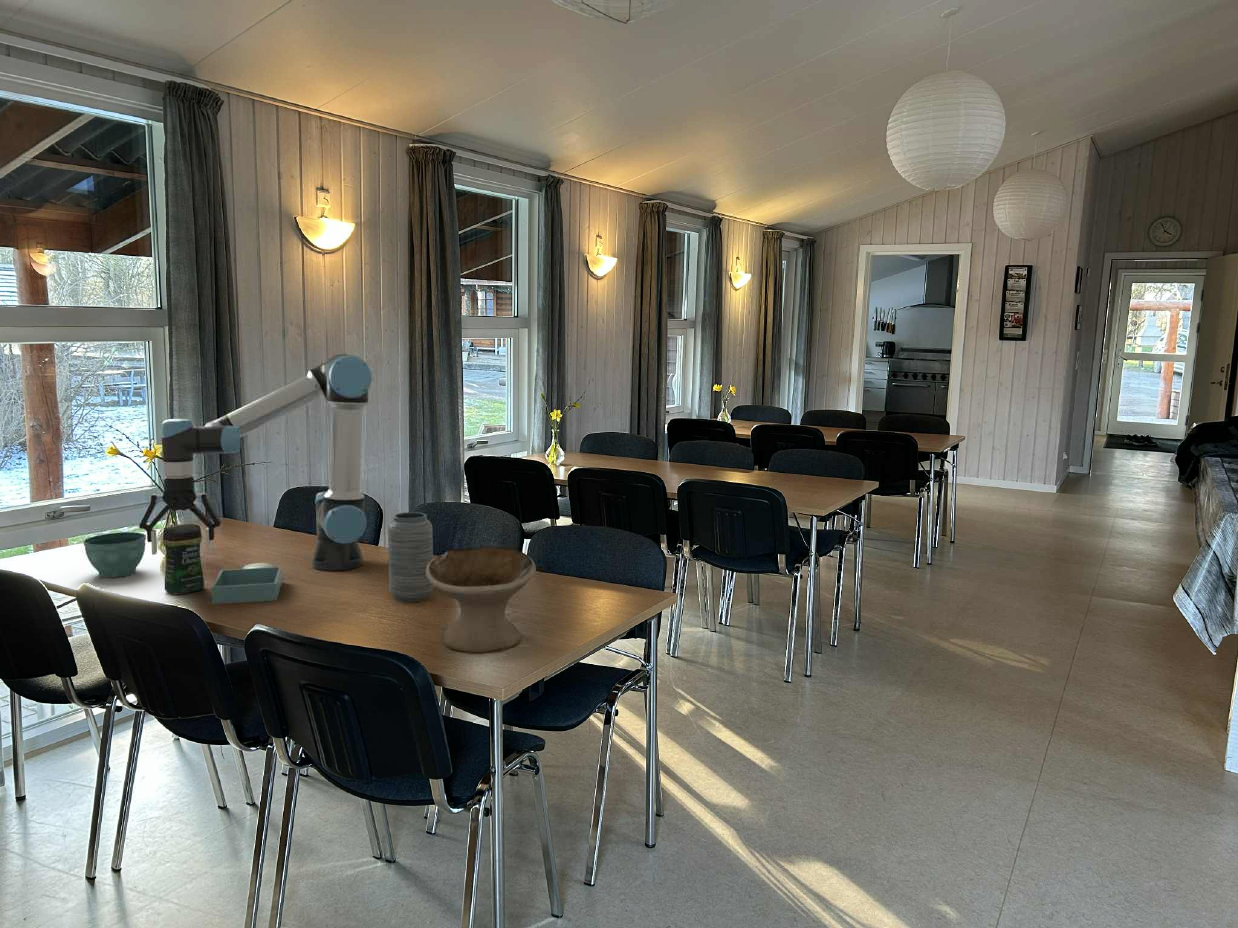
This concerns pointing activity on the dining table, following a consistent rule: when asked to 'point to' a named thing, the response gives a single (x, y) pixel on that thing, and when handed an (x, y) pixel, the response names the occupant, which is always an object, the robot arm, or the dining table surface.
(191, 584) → the coffee jar
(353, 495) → the robot arm
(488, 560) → the bowl
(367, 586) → the dining table surface
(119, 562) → the green bowl
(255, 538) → the dining table surface
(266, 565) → the white oval disc
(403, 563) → the vase
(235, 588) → the bin
